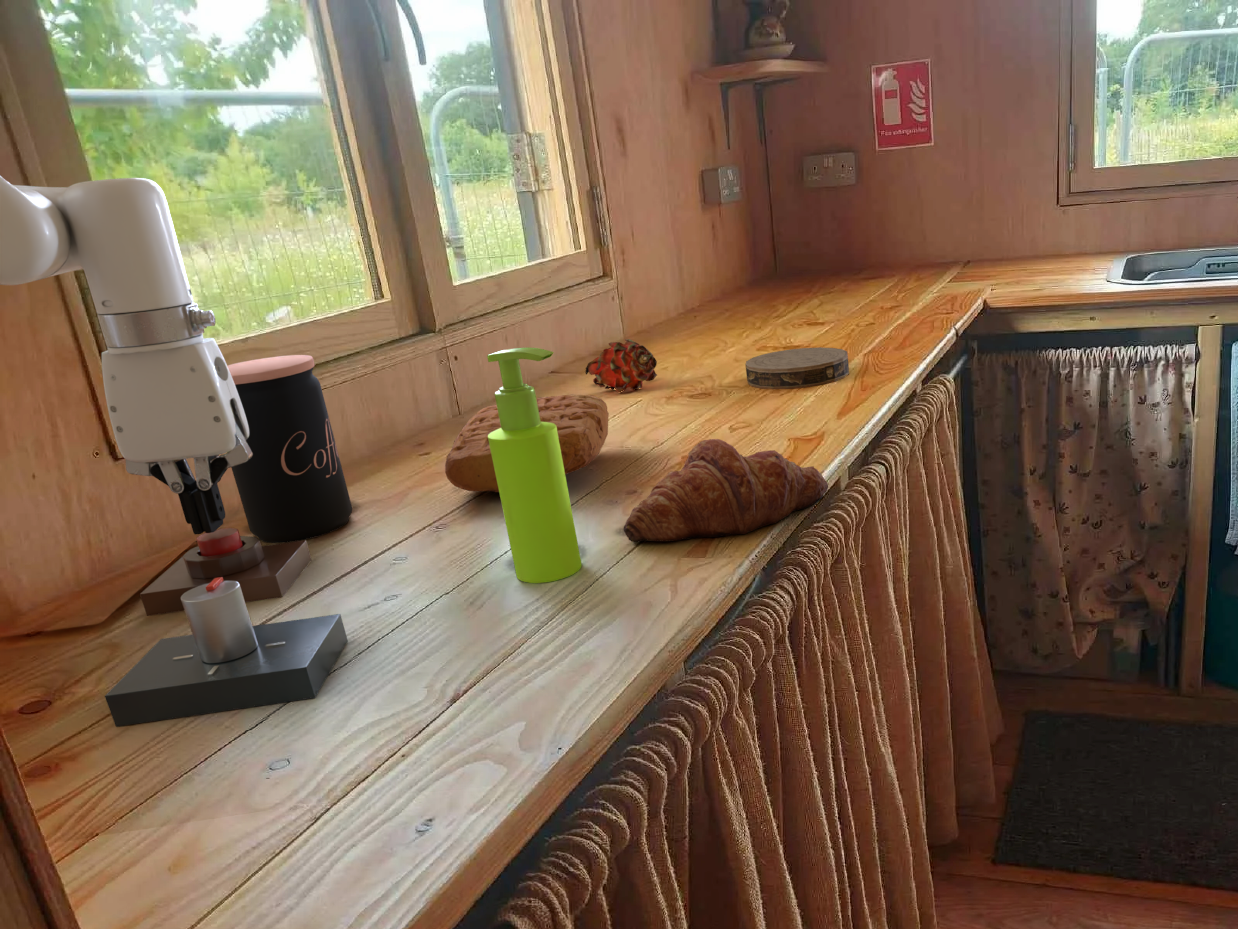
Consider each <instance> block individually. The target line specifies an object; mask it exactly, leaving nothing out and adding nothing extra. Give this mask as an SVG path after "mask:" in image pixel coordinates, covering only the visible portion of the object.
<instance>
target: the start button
mask: <svg viewBox="0 0 1238 929" xmlns="http://www.w3.org/2000/svg"><path fill="white" fill-rule="evenodd" d="M240 536H241V535H240V530H239V529H238V528H235V527H224V528H218V529H217V530H216V531H214V532H213V533H206V532H203V533H202V534H199V536H197V537H196V542H197V546H199V549H200V552H201V555H202V556H214V555H221V554H224V553H228V552H232V551H234V550H237V549H239V548H241V547H243V544H242V541H241V538H240Z"/></svg>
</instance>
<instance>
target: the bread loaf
mask: <svg viewBox="0 0 1238 929" xmlns="http://www.w3.org/2000/svg"><path fill="white" fill-rule="evenodd" d="M536 399H537V405H538V410H539V415H540V421H541V422H550V423H554V424H555V425H556V427H557V432H558V438H559V443H560V449H561V454H562V460H563V465H564V471H565V475H568V474H570V473H573V472H576V471H578V470H580V469H584V468H586V467H587V466H589V465H590V464H591V462H592V461H594V460H595V459H596V458H597V457H598V455H599V454H600V451H601V450H602V448H603V446H604V444H605V442H606V440H607V437H608V434H609V415H610V414H609V410H608V405H607V403H606V402H605V401H604V400H603V399H602V398H600V397H597V396H595V395H591V394H573V393H572V394H564V395H551V396H545V397H544V396H543V397H542V396H540V397H539V396H538V397H536ZM499 428H501V424H500V419H499V414H498V409H497V404H496V403H495V404H493V405H489V406H485V407H484V408H481V409H479V410H478V411H477V412H476V413H475V414H474V415H473V416H472V417H470V418H469V420H468V421H467V423H466V424H465V425H464V426H463V427H462V429H461V431H460V432H459V433H458V434H457V436H456V438H455V439H454V441H453V444H452V445H451V446H452V447H451V449H450V451H449V453H448V454H447V455H446V459H445V463H444V467H445V468H444V469H445V471H444V472H445V476H446V478H447V480H448V481H449V482H450V483H451V484H452V485H453V486H454V487H456V488H459V489H460V490H465V491H468V492H493V493H499V489H498V484H497V479H496V474H495V469H494V464H493V460H492V455H491V450H490V445H489V440H488V435H489V434H490V433H491V432H493V431H495V430H497V429H499Z"/></svg>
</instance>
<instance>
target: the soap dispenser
mask: <svg viewBox="0 0 1238 929" xmlns="http://www.w3.org/2000/svg"><path fill="white" fill-rule="evenodd" d="M553 355H554V352H553V350H552V351H551V350H548V349H544V348H539V347H527V346H526V347H514V348H508V349H503V350H498V351H495V352H493V353H490V354H487V355H486V358H487V361H488V363H492V362H493V363H494V362H497V363H498V366H499V372H500V377H501V383H502V386H501V387H499V389H498V390H497V391H495V392H494V398H495V404H497V409H498V414H499V419H500V424H501V428H499V429H497V430H495V431H493V432H491V433H490V434H489V435H488V440H489V445H490V450H491V455H492V460H493V464H494V469H495V474H496V479H497V484H498V489H499V492H498V493H499V497H500V503H501V507H502V511H503V517H504V522H505V528H506V532H507V537H508V541H509V542H508V543H509V546H510V551H511V556H512V561H513V567H514V571H515V575H516V578H517V580H519V581H521V582H522V583H523V582H524V583H529V584H542V583H550V582H555V581H560V580H563V579H565V578H569V577H571V576H573V575H574V574H576V573H578V572H579V571H580V570H581V568H582V559H581V554H580V548H579V543H578V537H577V532H576V526H575V521H574V520H575V519H574V515H573V509H572V504H571V498H570V493H569V488H568V482H567V476H566V474H565V471H564V465H563V460H562V454H561V449H560V443H559V438H558V432H557V427H556V425H555V424H554V423H550V422H541V421H540V415H539V410H538V405H537V399H536V398H537V394H536V389H535V387H534V386H532V385H528V383H525V382H523V381H524V380H523V375H522V370H521V364H520V360H528V361H529V360H530V361H535V362H542V361H544V360H547V359H549V358H551V357H552V356H553Z"/></svg>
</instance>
